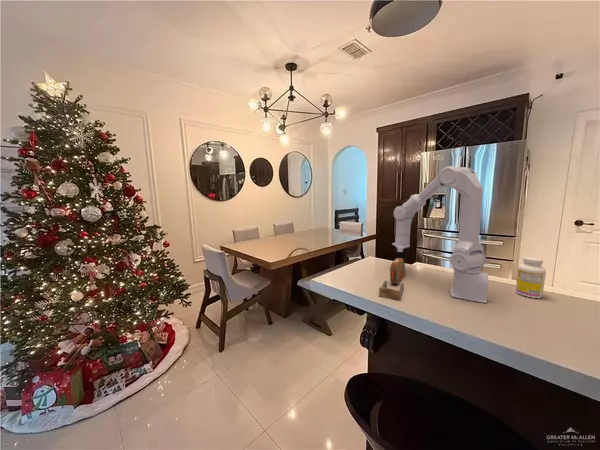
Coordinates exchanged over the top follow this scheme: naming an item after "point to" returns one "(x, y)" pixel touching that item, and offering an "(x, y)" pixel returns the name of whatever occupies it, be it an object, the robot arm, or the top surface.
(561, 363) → the top surface
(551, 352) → the top surface
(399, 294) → the dock
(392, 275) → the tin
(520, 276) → the supplement bottle
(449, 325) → the top surface
